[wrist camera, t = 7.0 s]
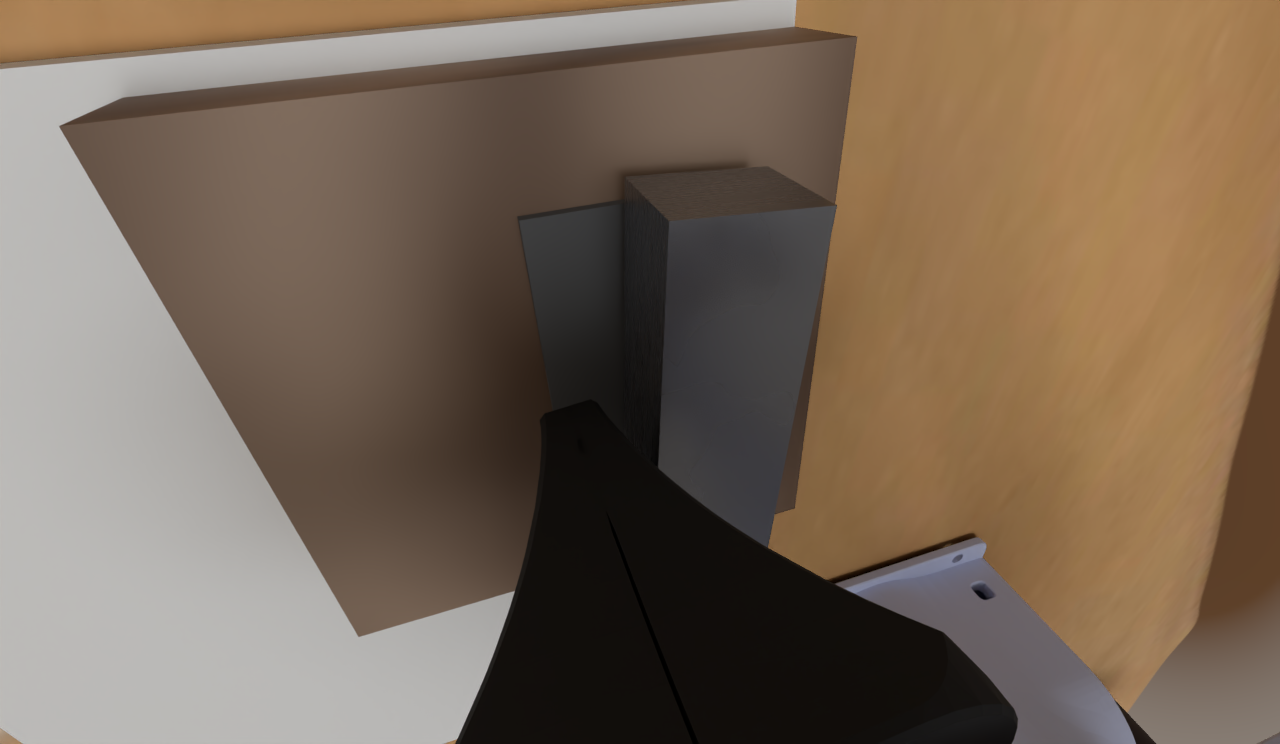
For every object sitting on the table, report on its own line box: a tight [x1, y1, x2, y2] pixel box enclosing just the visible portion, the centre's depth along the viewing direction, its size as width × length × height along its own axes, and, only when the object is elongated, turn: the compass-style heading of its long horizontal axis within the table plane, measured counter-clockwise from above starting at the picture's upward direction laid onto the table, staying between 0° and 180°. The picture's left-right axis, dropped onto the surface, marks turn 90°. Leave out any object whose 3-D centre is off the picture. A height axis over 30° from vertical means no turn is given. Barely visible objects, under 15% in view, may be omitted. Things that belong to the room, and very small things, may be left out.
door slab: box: [59, 27, 857, 637], centre depth 12 cm, size 11×11×2 cm
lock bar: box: [624, 166, 837, 548], centre depth 13 cm, size 15×3×2 cm, turn 179°
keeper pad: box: [517, 199, 625, 434], centre depth 11 cm, size 4×6×1 cm, turn 3°
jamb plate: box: [0, 0, 796, 744], centre depth 15 cm, size 20×21×1 cm
